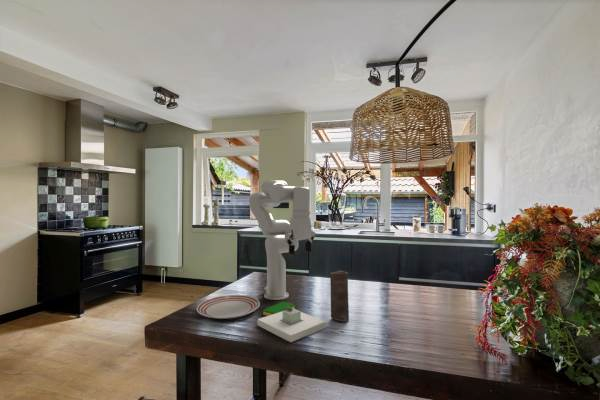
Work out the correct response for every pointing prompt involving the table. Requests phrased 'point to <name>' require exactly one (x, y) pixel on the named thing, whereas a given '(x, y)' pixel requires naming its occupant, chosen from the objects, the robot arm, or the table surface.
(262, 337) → the table surface
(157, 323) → the table surface
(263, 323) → the socket
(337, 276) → the candle
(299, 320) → the plug
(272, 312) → the dish sponge
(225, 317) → the dinner plate
